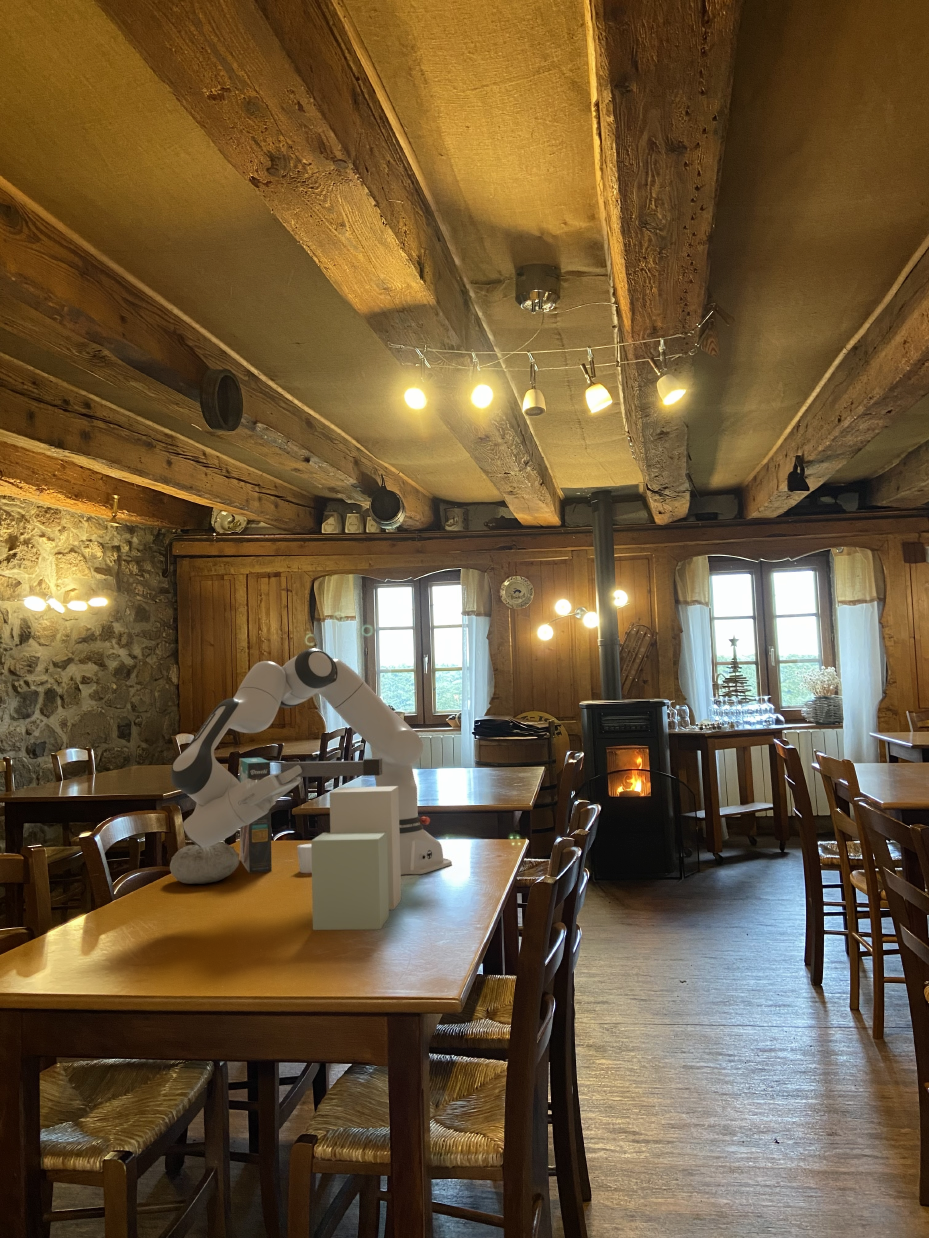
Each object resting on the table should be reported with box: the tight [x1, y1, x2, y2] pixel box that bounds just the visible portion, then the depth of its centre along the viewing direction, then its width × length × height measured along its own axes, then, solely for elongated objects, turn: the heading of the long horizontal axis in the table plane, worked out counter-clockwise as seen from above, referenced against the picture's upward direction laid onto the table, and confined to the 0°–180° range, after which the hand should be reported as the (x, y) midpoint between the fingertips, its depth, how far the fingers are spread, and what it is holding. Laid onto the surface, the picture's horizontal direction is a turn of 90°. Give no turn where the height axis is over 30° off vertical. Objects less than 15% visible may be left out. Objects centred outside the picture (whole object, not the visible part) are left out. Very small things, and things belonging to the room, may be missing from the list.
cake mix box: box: [238, 757, 273, 874], centre depth 253 cm, size 22×6×30 cm, turn 21°
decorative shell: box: [169, 841, 241, 885], centre depth 232 cm, size 18×18×10 cm
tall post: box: [329, 786, 402, 911], centre depth 201 cm, size 14×10×26 cm
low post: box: [311, 832, 390, 931], centre depth 184 cm, size 14×10×18 cm
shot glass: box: [296, 842, 312, 874], centre depth 241 cm, size 7×7×7 cm
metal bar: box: [280, 757, 382, 778], centre depth 193 cm, size 22×4×4 cm, turn 85°
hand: (304, 767), depth 194 cm, fingers closed on metal bar, 3 cm apart
